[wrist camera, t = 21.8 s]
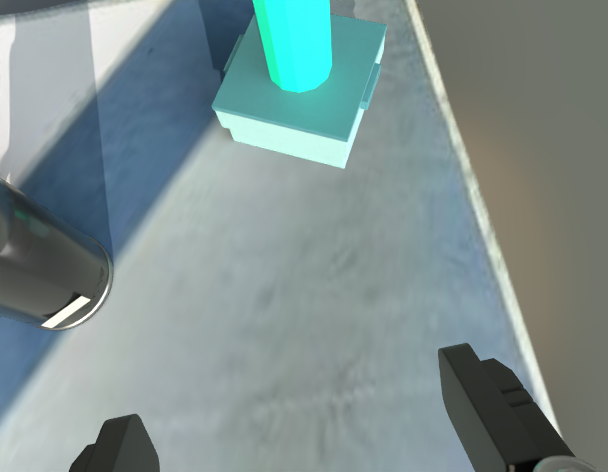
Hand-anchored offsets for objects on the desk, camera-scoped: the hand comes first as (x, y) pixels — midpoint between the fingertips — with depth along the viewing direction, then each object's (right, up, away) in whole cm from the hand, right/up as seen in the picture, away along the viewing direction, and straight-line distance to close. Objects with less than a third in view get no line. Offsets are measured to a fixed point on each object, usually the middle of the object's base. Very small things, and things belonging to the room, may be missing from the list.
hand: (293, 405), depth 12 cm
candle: (0, +20, +31) cm, 37 cm away
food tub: (+1, +18, +37) cm, 42 cm away
